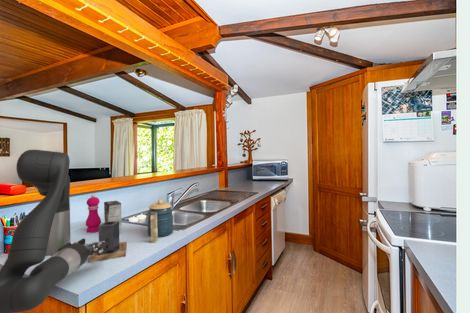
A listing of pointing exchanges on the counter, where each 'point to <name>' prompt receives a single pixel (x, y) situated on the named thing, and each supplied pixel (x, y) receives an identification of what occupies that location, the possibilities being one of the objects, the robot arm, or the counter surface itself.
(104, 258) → the tray
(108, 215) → the coffee box
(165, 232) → the canister
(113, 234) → the grey square container
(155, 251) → the counter surface
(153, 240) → the post
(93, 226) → the pepper mill
